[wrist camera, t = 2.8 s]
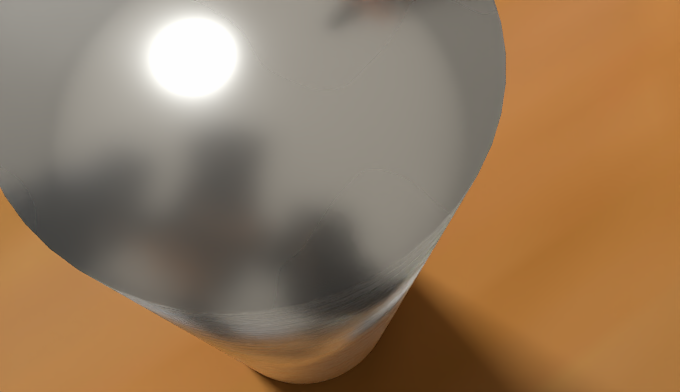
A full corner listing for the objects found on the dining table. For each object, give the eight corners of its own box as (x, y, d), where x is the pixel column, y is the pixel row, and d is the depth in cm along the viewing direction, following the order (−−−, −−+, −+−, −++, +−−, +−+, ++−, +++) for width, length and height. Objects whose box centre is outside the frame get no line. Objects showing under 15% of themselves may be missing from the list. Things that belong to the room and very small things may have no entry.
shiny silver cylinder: (402, 372, 18) (558, 276, 5) (221, 394, 18) (-46, 346, 5) (378, 201, 19) (456, -173, 7) (211, 219, 19) (-9, -134, 7)
